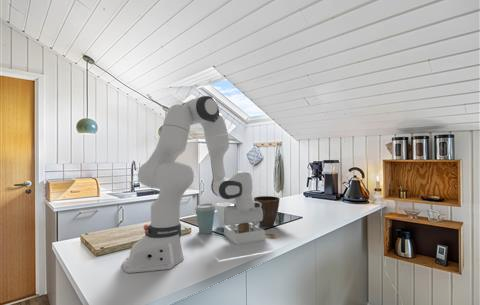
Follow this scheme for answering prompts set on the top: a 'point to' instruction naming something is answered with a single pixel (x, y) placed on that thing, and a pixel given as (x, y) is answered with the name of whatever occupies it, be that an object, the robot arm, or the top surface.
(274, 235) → the cork coaster
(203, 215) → the disposable coffee cup
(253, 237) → the grey tub
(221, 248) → the top surface
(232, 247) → the top surface
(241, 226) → the walnut block
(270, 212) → the plant pot
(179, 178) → the robot arm
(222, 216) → the foam cup
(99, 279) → the top surface
